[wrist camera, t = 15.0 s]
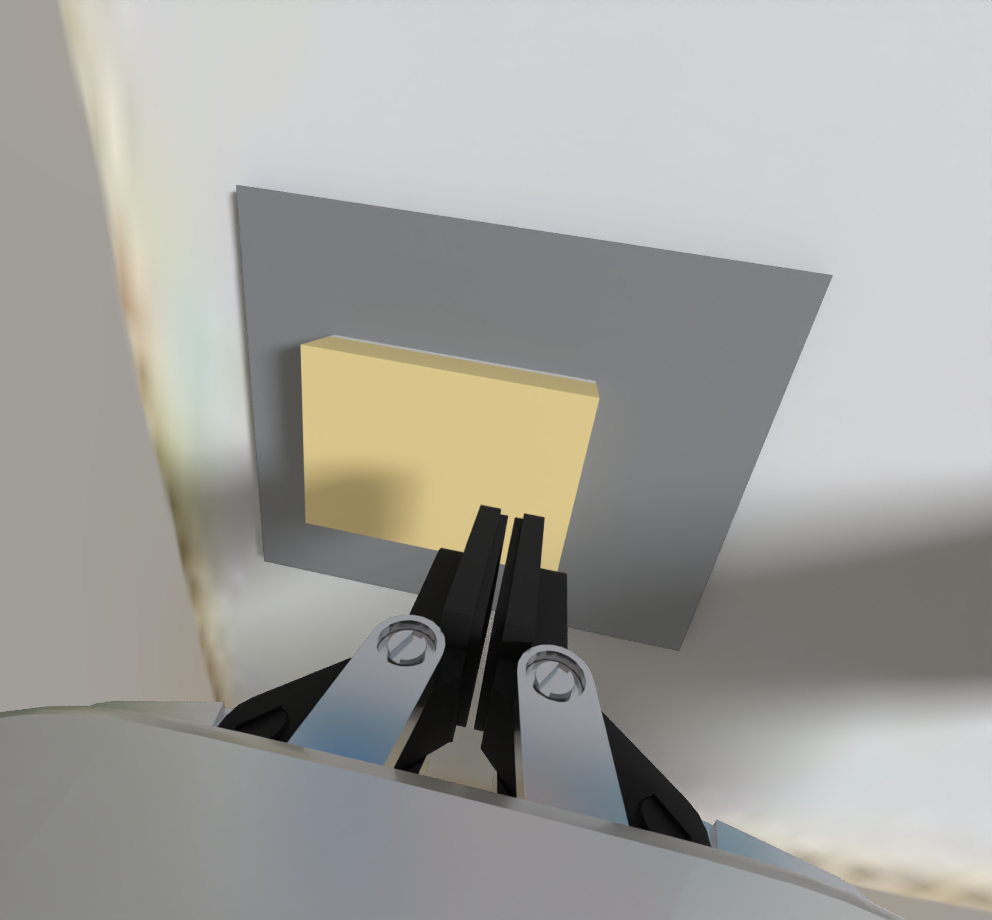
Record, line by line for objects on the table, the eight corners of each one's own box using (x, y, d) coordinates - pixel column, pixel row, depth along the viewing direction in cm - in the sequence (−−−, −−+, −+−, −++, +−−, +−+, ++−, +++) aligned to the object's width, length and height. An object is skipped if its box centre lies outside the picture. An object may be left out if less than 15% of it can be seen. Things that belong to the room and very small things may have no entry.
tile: (599, 398, 15) (300, 344, 15) (556, 575, 17) (305, 522, 18) (595, 380, 17) (334, 334, 17) (557, 541, 20) (333, 495, 20)
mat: (823, 274, 15) (832, 275, 14) (676, 641, 21) (678, 651, 21) (247, 187, 16) (236, 184, 16) (271, 553, 23) (264, 561, 22)
